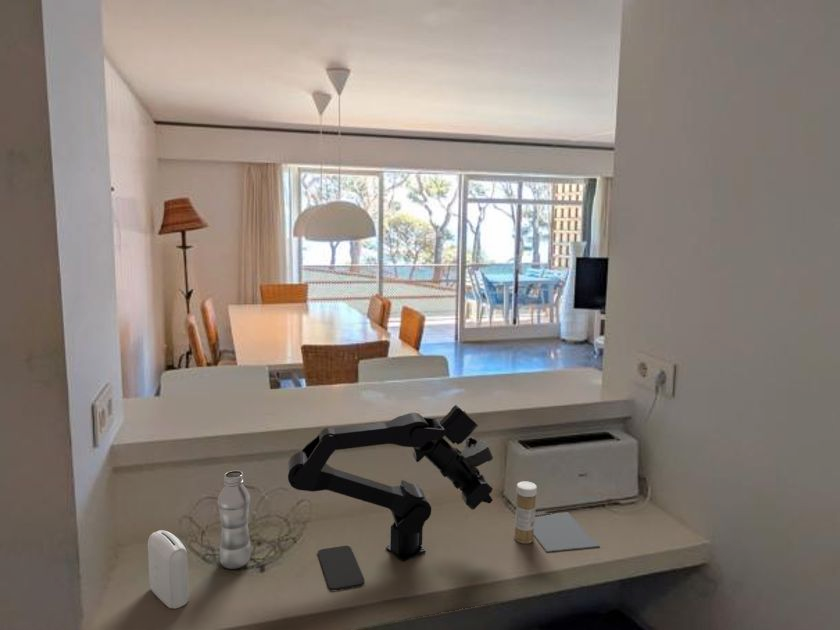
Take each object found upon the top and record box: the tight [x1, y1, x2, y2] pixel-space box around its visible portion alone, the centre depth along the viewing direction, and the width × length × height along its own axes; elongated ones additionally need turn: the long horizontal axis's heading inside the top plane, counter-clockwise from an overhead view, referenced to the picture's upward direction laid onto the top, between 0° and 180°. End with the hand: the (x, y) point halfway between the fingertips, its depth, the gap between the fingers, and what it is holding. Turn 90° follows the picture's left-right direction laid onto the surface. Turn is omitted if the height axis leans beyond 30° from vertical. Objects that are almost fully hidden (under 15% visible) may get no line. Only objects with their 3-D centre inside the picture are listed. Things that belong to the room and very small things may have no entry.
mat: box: [533, 511, 600, 553], centre depth 141 cm, size 13×16×1 cm
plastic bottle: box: [217, 470, 252, 570], centre depth 123 cm, size 6×7×20 cm
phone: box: [317, 545, 366, 591], centre depth 124 cm, size 7×1×15 cm
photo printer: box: [147, 529, 190, 610], centre depth 113 cm, size 10×4×12 cm, turn 47°
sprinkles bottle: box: [513, 480, 538, 545], centre depth 136 cm, size 5×5×14 cm
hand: (490, 501), depth 134 cm, fingers closed
